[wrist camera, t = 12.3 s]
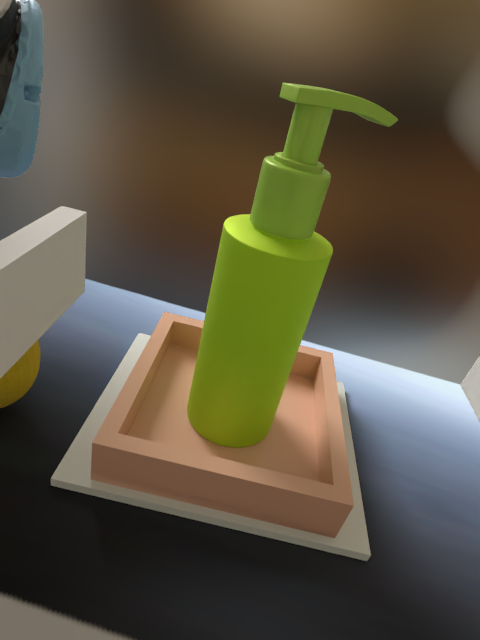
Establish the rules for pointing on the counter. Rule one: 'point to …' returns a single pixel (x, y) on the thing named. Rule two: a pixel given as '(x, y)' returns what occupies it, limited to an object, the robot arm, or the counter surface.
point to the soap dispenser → (268, 279)
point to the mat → (77, 478)
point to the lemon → (20, 376)
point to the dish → (220, 461)
